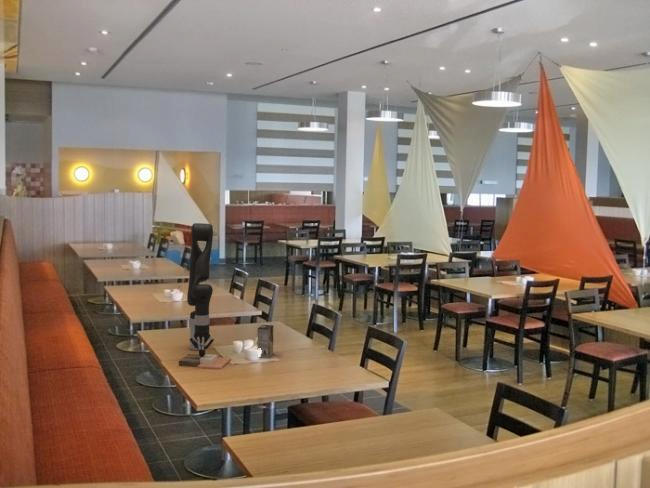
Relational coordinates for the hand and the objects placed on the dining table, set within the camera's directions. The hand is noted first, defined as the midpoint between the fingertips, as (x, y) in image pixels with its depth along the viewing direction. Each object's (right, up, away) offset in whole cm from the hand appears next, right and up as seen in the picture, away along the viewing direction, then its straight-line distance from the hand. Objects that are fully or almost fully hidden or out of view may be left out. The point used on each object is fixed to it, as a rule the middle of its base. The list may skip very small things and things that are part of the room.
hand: (201, 356), depth 350 cm
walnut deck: (-5, -3, +1) cm, 6 cm away
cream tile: (+3, -3, 0) cm, 4 cm away
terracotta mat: (+7, -4, -1) cm, 8 cm away
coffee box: (+31, -3, +17) cm, 35 cm away
